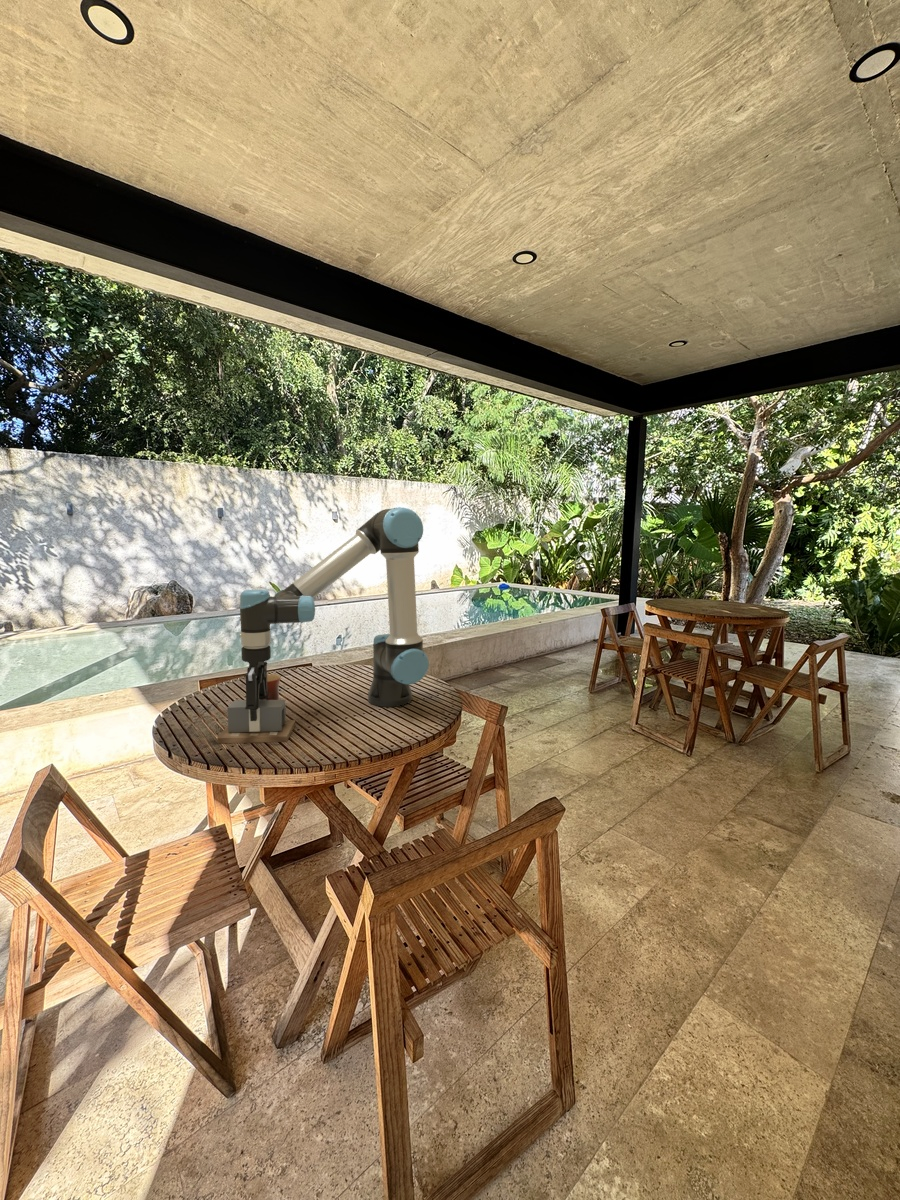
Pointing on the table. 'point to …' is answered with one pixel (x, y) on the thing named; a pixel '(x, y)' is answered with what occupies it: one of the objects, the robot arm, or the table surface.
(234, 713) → the block
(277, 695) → the mug
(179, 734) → the table surface
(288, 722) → the board
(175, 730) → the table surface
